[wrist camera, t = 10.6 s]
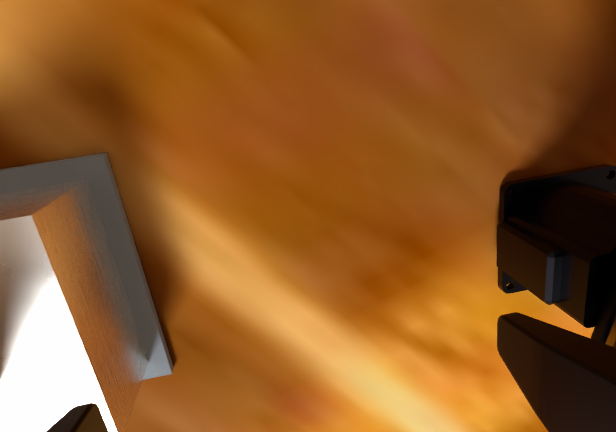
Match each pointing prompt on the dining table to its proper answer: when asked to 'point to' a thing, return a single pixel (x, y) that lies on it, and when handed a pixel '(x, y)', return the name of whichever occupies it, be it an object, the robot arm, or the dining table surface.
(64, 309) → the cover
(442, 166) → the dining table surface
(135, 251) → the mat
